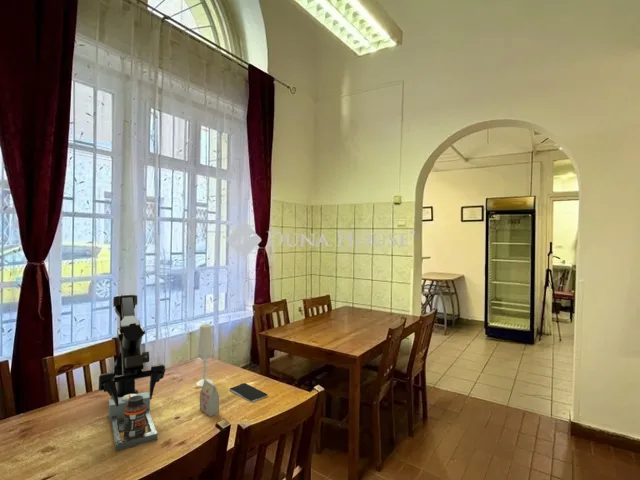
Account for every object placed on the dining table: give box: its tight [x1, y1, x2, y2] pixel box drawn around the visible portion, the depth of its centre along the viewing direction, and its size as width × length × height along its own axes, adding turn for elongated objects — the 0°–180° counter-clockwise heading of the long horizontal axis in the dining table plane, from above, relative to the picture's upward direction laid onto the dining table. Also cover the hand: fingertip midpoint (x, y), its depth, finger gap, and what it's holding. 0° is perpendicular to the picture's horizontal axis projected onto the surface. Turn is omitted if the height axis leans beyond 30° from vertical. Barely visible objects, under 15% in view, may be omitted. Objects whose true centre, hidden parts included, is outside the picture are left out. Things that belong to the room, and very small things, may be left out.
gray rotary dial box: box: [108, 391, 151, 422], centre depth 121 cm, size 5×12×6 cm, turn 123°
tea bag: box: [199, 380, 220, 417], centre depth 123 cm, size 4×7×10 cm, turn 45°
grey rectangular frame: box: [111, 408, 159, 452], centre depth 110 cm, size 20×11×2 cm, turn 34°
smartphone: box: [229, 382, 269, 403], centre depth 138 cm, size 8×1×15 cm
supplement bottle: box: [123, 396, 147, 439], centre depth 107 cm, size 6×6×11 cm
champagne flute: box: [195, 323, 214, 387], centre depth 147 cm, size 7×7×24 cm
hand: (134, 402), depth 109 cm, fingers open, 9 cm apart
